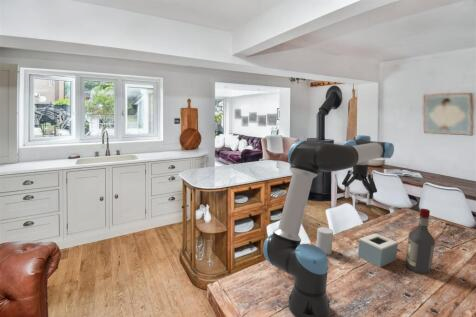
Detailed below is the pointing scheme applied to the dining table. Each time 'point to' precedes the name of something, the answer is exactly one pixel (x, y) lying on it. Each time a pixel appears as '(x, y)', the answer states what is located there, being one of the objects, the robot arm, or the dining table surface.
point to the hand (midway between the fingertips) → (357, 200)
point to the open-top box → (377, 249)
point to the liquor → (420, 246)
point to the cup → (325, 239)
